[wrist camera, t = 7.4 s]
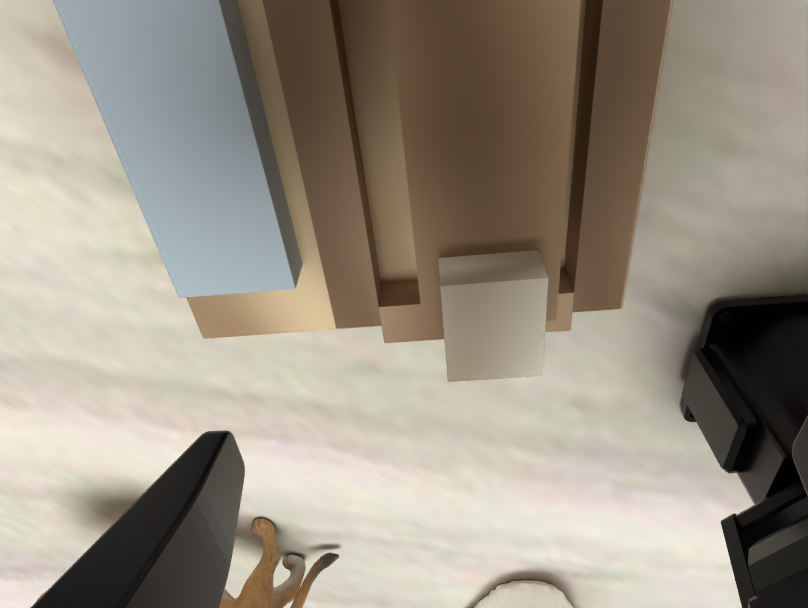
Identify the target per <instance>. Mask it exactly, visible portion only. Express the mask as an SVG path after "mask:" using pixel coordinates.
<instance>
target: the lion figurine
mask: <svg viewBox="0 0 808 608" xmlns="http://www.w3.org/2000/svg"><path fill="white" fill-rule="evenodd" d="M251 532H252V534H254V535H256V536H259V537H260V538H261V539H262V541H263V547H264V550H263V555H262V558H261V560H260V562H259V564H258V565H257V566H256V568H255V569H254V571H253V572H252V574H251V575H250V576H249V578H248V579H247V581H246V583H245V585H244V587H243V589H242V591H241V594H240V595H239V597H238V598H236V599H235V598H233V597H232V596H231V595H230V594H229V593H228V592H227V591H226V590H225V589H224V593H223V596H222V600H221V604H220V608H283V607H284V606H285V605H286V604H288V603H289V602H291V601H293V600H294V602H293V604H292V606H291V608H302V607H303V604H304V602H305V600H306V597H307V595H308V592H309V590H310V587H311V585H312V583H313V581H314V580H315V578H316V577H317V576H318V574H319V573H320V572H321V571H322V570H323V569H325V568H327V567H328V566H330V565H331V564H332V563H333V562H334V561H335V560H336V559H338V558H339V555H338V554H334V553H326V554H325V555H323V556H322V557H320V559H319V560H318V561H317V562H315V564H314V565H313V566H312V568H311V570H310V571H309V573H308V575H307V576H306V578H305V579H304V581H303V583H302V585H301V582H302V579H303V576H304V573H305V562H304V560H303V559H302V558H301V557H299V556H296V555H288V556H286V557H285V558H284V559H283V566H284V567H285V568H286V569H288V570H290V571H291V575H290V577H289V578H288V579H287V580H286V581H285V582H284V583H283V584H281V585H279V586H277V587H275V588H273V574H274V571H275V568H276V567H277V565H278V563H279V561H280V552H279V548H278V545H277V541H276V536H275V529H274V526H273V525H272V523H271V522H270V521H268V520H266V519H262V518H261V519H256V520H254V521H253V523H252V526H251ZM300 585H301V587H300ZM299 588H300V589H299ZM48 590H49V589H48ZM48 590H47V591H48ZM47 591H46V592H47ZM46 592H45V593H46ZM45 593H44V594H45ZM44 594H42V595H41V596H40V598H41V597H42V596H43V595H44ZM40 598H39V599H40ZM39 599H38V600H39ZM38 600H37V601H38ZM37 601H36V602H37Z"/></svg>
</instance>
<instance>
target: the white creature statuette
mask: <svg viewBox="0 0 808 608" xmlns="http://www.w3.org/2000/svg"><path fill="white" fill-rule="evenodd" d="M473 608H573V606H572V605H571V604H570V602H569V601H567V599H566V597H565V595H564V594H563V592H561V591H560V590H558V589H557V588H556V587H555V586H553V585H552V584H548V583H546V582H544V581H535V580H520V581H511V582H510V583H503V584H502V585H498V586H497V587H496V589H495V590H491V591H490V594H489V595H487V596H486V597H484V599H482V600H480V601H479V602H478V604H477V605H475V606H474V607H473Z"/></svg>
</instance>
